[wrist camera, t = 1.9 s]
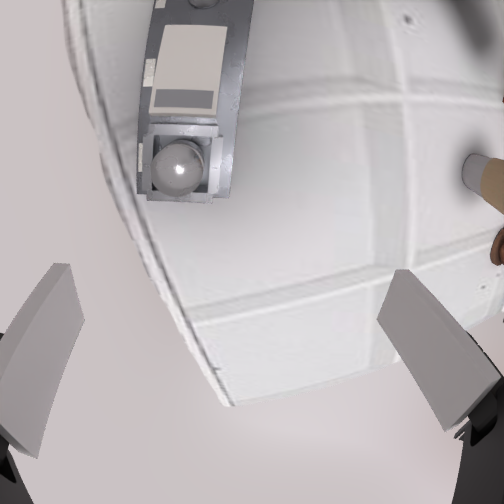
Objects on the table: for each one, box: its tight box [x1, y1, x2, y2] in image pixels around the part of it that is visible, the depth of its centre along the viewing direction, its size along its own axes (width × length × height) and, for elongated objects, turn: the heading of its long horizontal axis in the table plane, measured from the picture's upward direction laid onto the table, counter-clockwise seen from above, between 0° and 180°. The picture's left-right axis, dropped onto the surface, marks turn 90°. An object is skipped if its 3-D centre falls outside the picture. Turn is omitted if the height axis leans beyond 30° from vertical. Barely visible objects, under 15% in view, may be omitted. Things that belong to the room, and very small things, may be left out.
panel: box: [137, 0, 254, 203], centre depth 23 cm, size 26×10×5 cm, turn 173°
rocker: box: [149, 25, 227, 118], centre depth 21 cm, size 9×6×1 cm, turn 174°
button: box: [150, 140, 205, 197], centre depth 24 cm, size 4×4×4 cm
